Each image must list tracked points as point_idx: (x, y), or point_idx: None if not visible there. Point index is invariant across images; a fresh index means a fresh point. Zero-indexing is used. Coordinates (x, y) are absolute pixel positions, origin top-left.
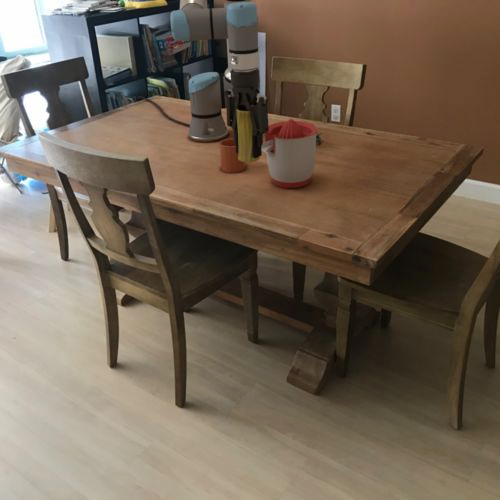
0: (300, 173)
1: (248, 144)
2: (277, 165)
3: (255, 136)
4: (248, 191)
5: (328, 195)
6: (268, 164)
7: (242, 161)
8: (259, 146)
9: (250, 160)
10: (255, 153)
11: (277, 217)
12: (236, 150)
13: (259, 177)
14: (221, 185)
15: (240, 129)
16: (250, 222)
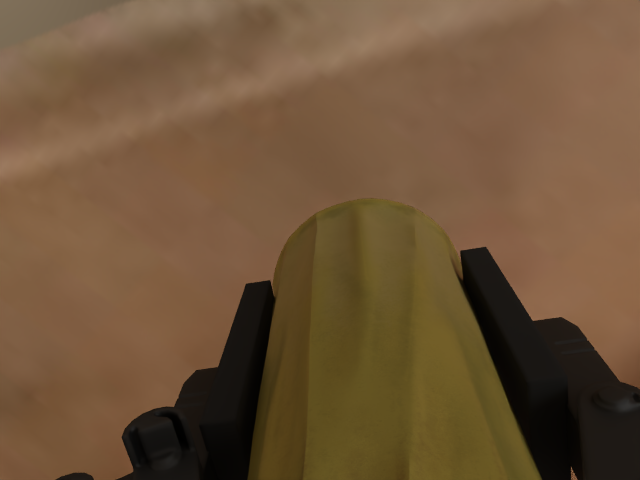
0: None
1: (289, 320)
2: None
3: (207, 430)
4: (453, 238)
5: None
6: None
7: (344, 202)
8: (196, 375)
9: (285, 250)
10: (239, 309)
11: (111, 156)
12: (484, 258)
13: None
14: (635, 179)
15: (381, 387)
16: (149, 11)
